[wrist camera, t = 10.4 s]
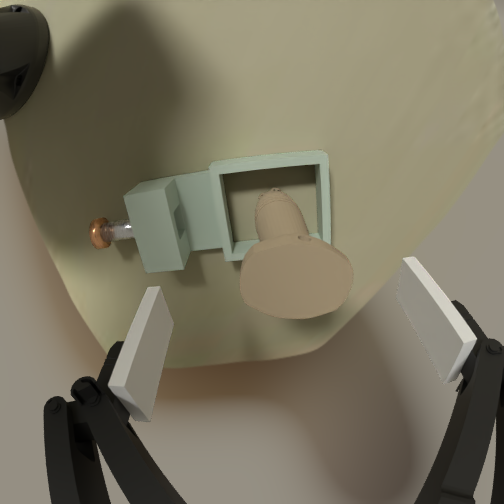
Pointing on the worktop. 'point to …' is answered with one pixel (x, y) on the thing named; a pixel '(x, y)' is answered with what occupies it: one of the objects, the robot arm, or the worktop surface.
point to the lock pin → (109, 232)
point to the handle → (291, 264)
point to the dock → (207, 210)
